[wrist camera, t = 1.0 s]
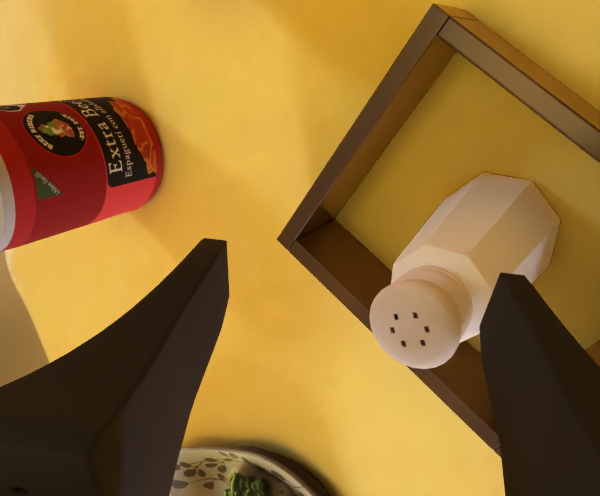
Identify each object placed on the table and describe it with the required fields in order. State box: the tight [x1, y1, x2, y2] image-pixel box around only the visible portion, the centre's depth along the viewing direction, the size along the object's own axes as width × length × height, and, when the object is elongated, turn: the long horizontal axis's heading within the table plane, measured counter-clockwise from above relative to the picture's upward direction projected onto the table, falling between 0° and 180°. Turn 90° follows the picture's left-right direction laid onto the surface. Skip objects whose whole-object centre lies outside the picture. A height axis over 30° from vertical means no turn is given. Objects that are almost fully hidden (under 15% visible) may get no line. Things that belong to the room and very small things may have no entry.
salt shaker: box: [369, 172, 561, 369], centre depth 20 cm, size 5×5×11 cm
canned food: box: [0, 97, 163, 252], centre depth 32 cm, size 8×8×11 cm
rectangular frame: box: [277, 4, 600, 458], centre depth 23 cm, size 15×13×4 cm
